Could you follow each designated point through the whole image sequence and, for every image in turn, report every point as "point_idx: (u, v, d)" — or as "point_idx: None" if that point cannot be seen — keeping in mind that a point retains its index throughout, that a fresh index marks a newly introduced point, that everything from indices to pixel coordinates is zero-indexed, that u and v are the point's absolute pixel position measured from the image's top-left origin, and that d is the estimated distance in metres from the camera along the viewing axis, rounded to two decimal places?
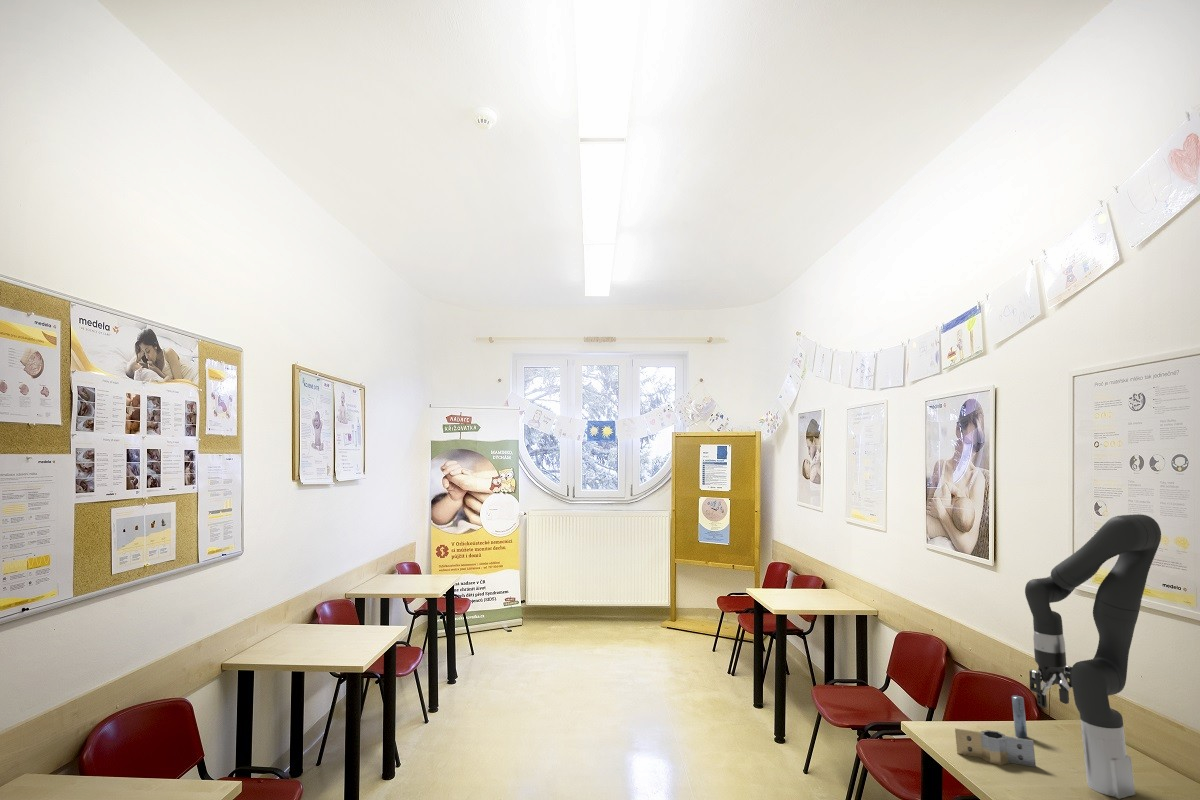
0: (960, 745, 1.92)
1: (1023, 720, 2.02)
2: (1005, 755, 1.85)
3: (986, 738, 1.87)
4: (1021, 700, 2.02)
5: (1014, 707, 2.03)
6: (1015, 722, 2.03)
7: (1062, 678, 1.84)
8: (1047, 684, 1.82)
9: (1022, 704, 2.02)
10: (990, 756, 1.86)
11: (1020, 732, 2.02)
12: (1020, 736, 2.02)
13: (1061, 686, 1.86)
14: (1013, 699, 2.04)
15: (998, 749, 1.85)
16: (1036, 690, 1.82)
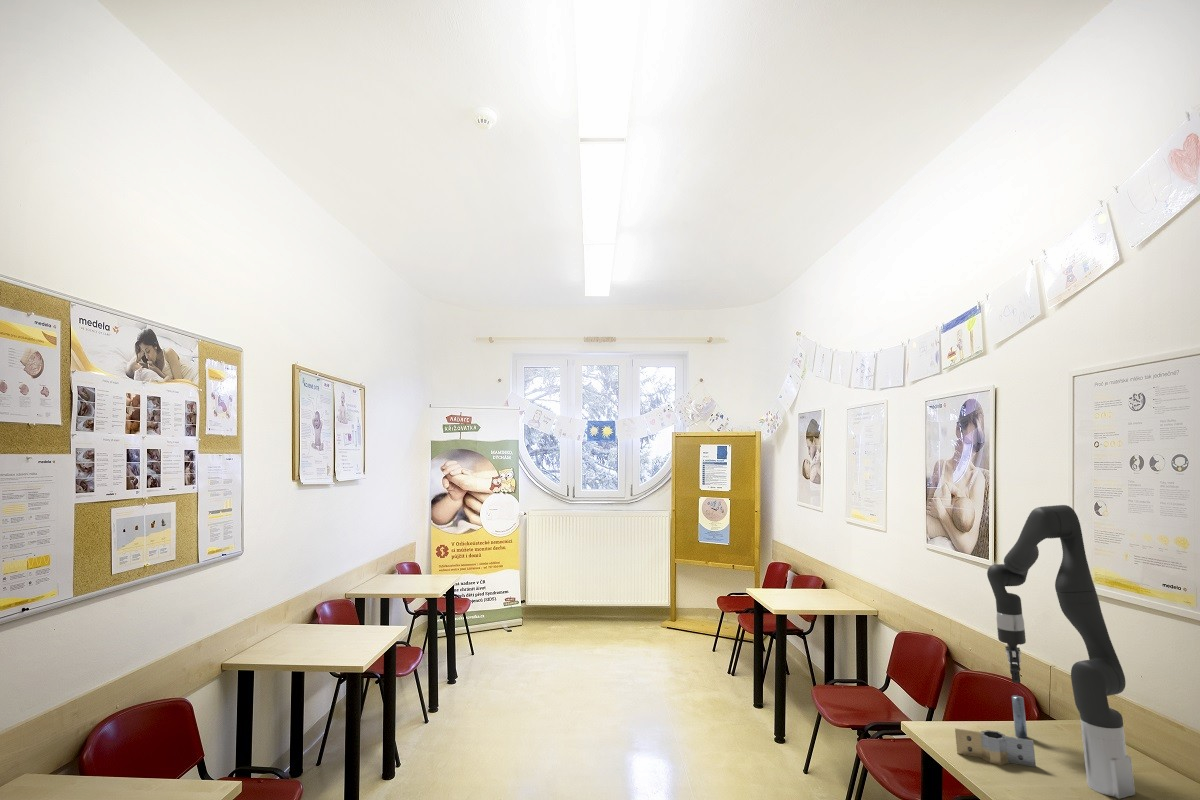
0: (960, 745, 1.92)
1: (1023, 720, 2.02)
2: (1005, 755, 1.85)
3: (986, 738, 1.87)
4: (1021, 700, 2.02)
5: (1014, 707, 2.03)
6: (1015, 722, 2.03)
7: None
8: (1019, 660, 2.01)
9: (1022, 704, 2.02)
10: (990, 756, 1.86)
11: (1020, 732, 2.02)
12: (1020, 736, 2.02)
13: None
14: (1013, 699, 2.04)
15: (998, 749, 1.85)
16: (1018, 668, 1.99)
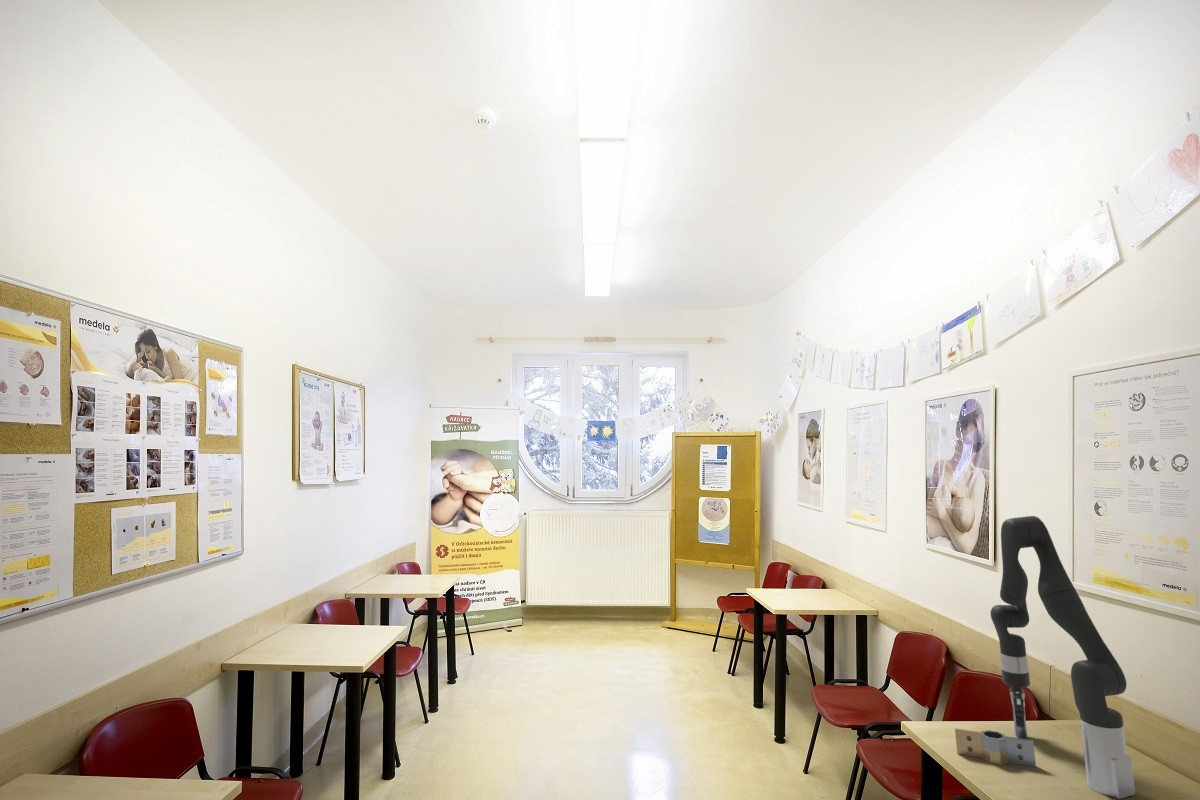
0: (960, 745, 1.92)
1: None
2: (1005, 755, 1.85)
3: (986, 738, 1.87)
4: None
5: None
6: (1015, 722, 2.03)
7: None
8: (1024, 705, 2.01)
9: None
10: (990, 756, 1.86)
11: (1020, 732, 2.02)
12: (1020, 736, 2.02)
13: None
14: None
15: (998, 749, 1.85)
16: (1022, 713, 1.99)
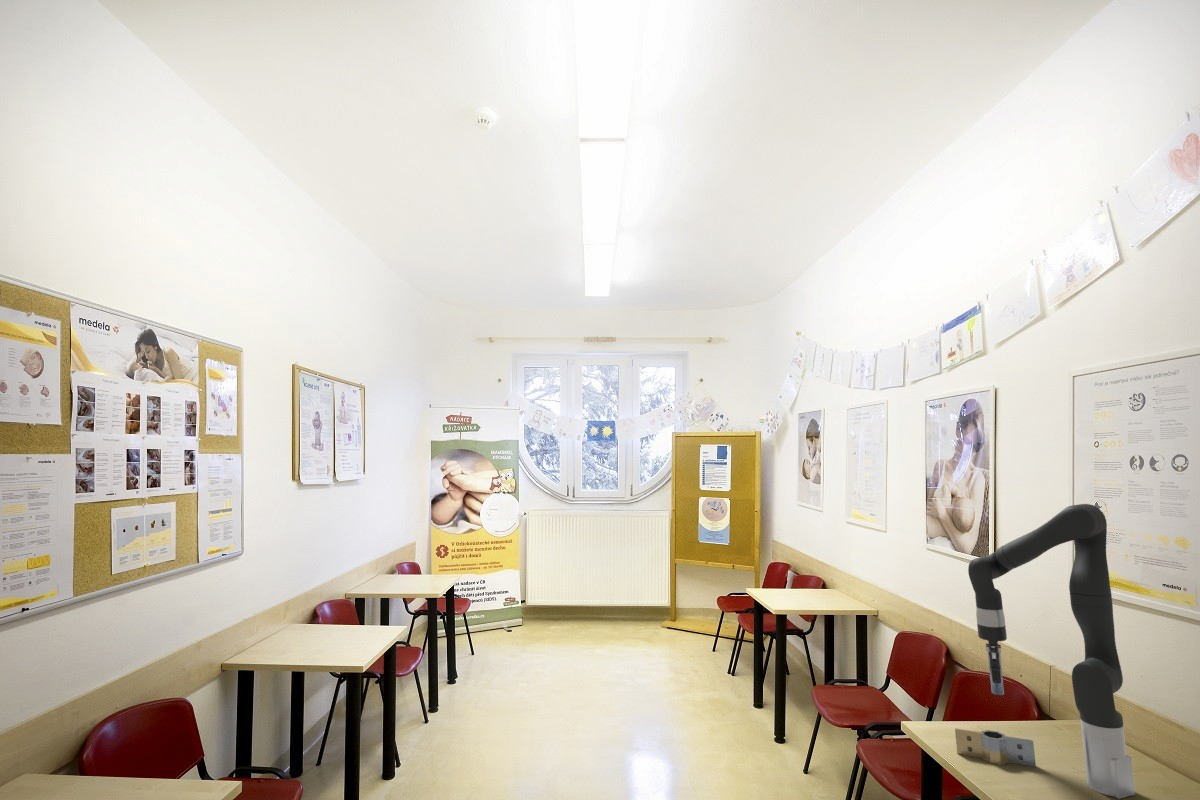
0: (960, 745, 1.92)
1: None
2: (1005, 755, 1.85)
3: (986, 738, 1.87)
4: None
5: None
6: (991, 678, 1.94)
7: None
8: (1000, 660, 1.92)
9: None
10: (990, 756, 1.86)
11: (996, 689, 1.93)
12: (996, 693, 1.93)
13: None
14: None
15: (998, 749, 1.85)
16: (998, 668, 1.90)
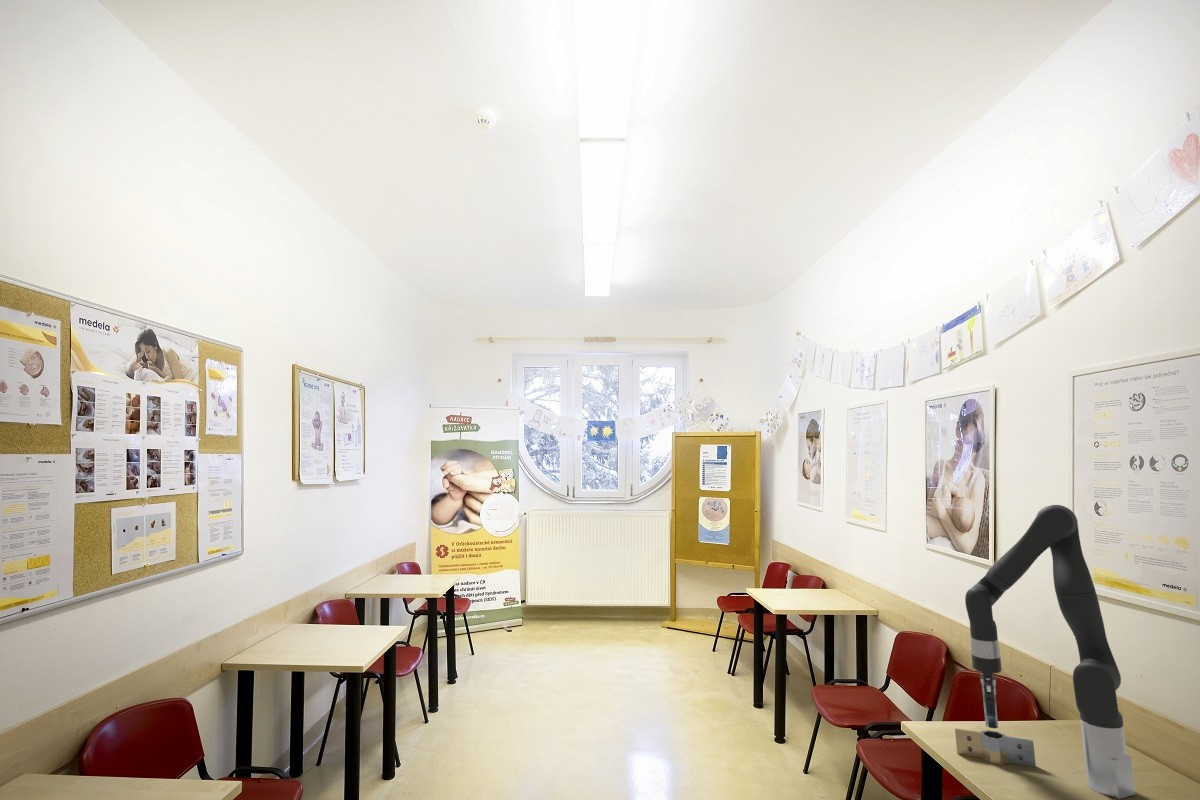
0: (960, 745, 1.92)
1: None
2: (1005, 755, 1.85)
3: (986, 738, 1.87)
4: None
5: (984, 695, 1.90)
6: (985, 711, 1.89)
7: None
8: (995, 692, 1.87)
9: None
10: (990, 756, 1.86)
11: (991, 722, 1.88)
12: (990, 726, 1.88)
13: None
14: None
15: (998, 749, 1.85)
16: (993, 701, 1.85)
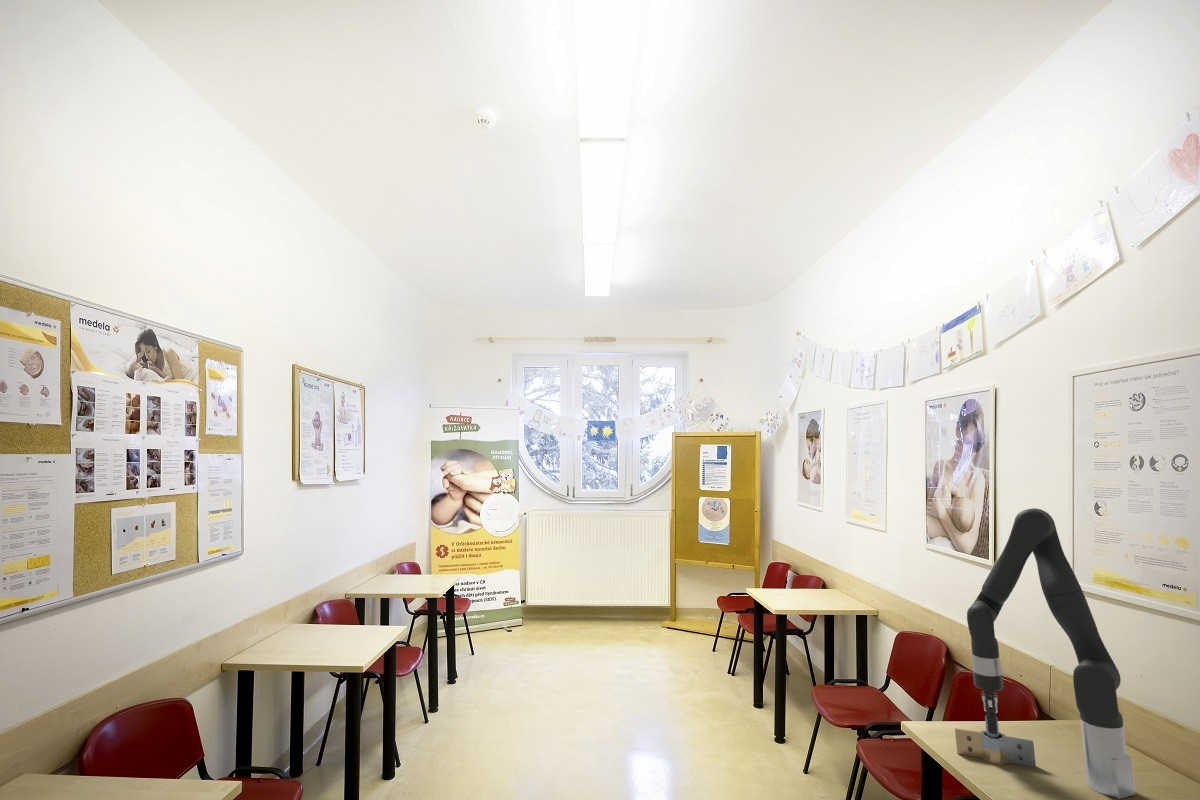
0: (960, 745, 1.92)
1: None
2: (1005, 755, 1.85)
3: (986, 738, 1.87)
4: None
5: (987, 728, 1.89)
6: None
7: None
8: (996, 709, 1.86)
9: None
10: (990, 756, 1.86)
11: None
12: None
13: None
14: (986, 720, 1.89)
15: (998, 749, 1.85)
16: (994, 718, 1.84)
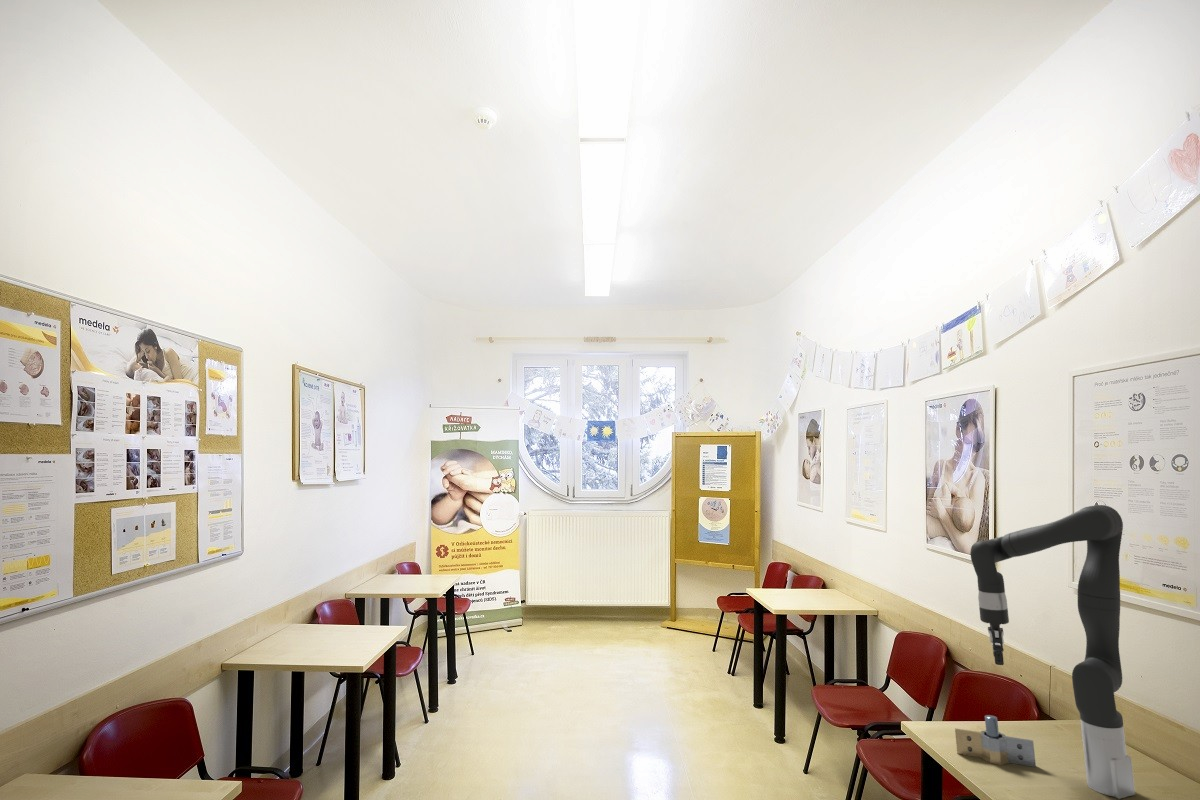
0: (960, 745, 1.92)
1: None
2: (1005, 755, 1.85)
3: (986, 738, 1.87)
4: (994, 720, 1.88)
5: (987, 728, 1.89)
6: None
7: None
8: (1002, 641, 1.91)
9: (996, 725, 1.88)
10: (990, 756, 1.86)
11: None
12: None
13: None
14: (986, 719, 1.89)
15: (998, 749, 1.85)
16: (1001, 649, 1.88)
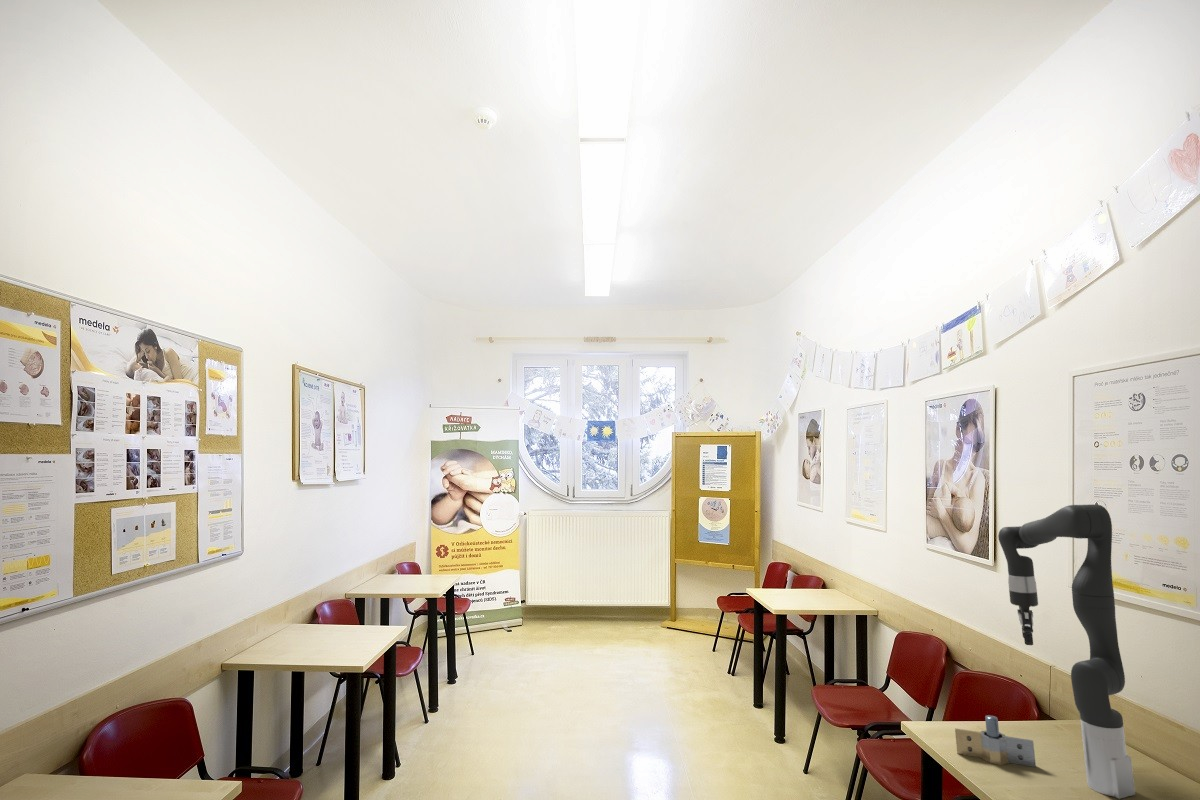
0: (960, 745, 1.92)
1: None
2: (1005, 755, 1.85)
3: (986, 738, 1.87)
4: (995, 721, 1.88)
5: (987, 728, 1.88)
6: None
7: None
8: (1032, 622, 1.99)
9: (996, 725, 1.87)
10: (990, 756, 1.86)
11: None
12: None
13: None
14: (986, 720, 1.89)
15: (998, 749, 1.85)
16: (1031, 629, 1.97)
